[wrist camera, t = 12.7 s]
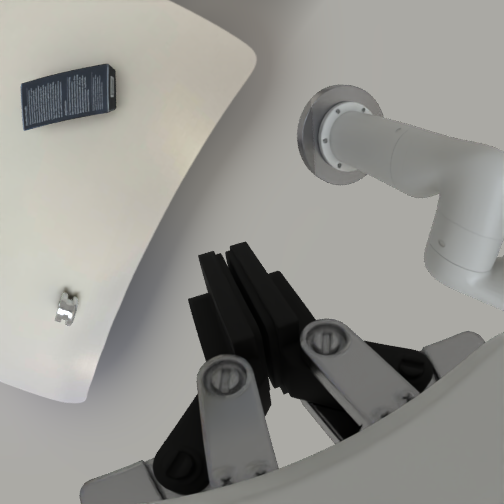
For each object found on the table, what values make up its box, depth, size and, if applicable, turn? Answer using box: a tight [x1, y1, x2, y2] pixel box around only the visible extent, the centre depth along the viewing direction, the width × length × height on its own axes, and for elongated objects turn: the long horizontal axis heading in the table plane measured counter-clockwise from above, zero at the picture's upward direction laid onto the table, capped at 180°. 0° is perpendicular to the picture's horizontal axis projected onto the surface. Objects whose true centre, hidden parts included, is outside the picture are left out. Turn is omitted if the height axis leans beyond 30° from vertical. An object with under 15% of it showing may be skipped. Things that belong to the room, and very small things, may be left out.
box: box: [21, 64, 116, 131], centre depth 25 cm, size 8×6×11 cm
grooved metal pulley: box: [55, 292, 78, 326], centre depth 40 cm, size 5×3×5 cm, turn 141°
